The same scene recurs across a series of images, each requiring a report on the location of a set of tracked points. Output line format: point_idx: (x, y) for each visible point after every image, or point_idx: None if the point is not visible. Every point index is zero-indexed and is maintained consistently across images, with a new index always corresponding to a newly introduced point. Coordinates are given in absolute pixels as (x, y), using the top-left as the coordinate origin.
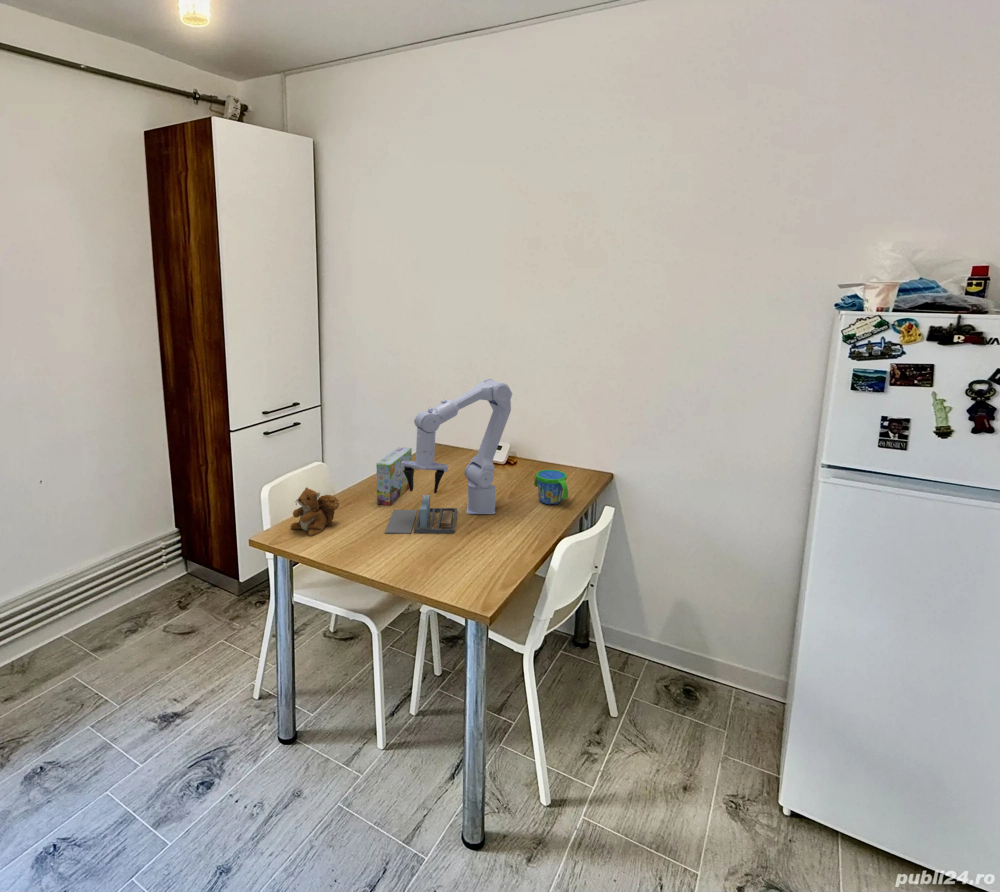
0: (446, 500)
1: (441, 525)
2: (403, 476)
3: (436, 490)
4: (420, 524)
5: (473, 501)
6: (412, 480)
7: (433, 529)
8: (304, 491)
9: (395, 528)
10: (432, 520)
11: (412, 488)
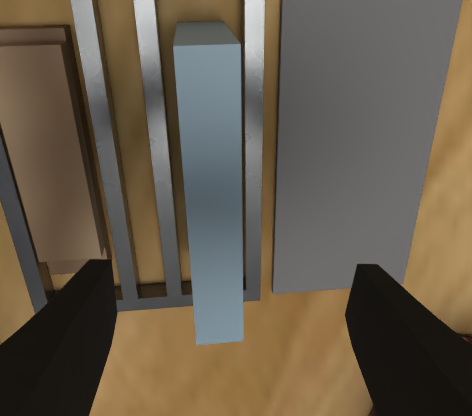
0: (138, 409)
1: (62, 42)
2: None
3: (72, 278)
4: (222, 25)
5: None
6: (392, 386)
7: None
8: None
9: (396, 17)
10: (151, 130)
11: (359, 300)
